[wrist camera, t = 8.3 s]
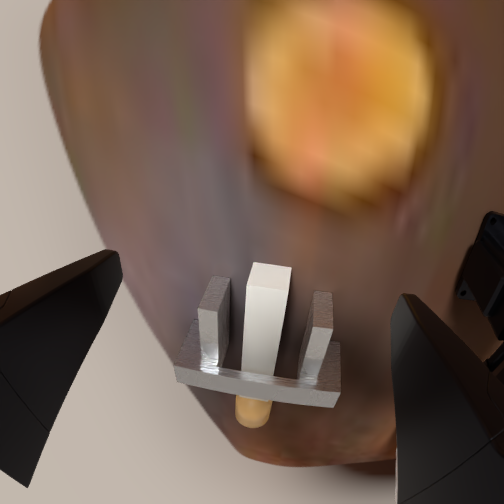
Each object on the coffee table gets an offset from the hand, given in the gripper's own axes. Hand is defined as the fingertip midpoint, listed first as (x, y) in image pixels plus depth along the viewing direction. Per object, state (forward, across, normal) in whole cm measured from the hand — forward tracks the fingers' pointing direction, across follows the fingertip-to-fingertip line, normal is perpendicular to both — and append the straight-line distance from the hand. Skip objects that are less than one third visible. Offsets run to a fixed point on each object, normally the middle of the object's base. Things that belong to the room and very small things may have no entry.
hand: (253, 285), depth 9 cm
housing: (+10, 0, +11) cm, 15 cm away
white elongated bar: (+10, 0, +14) cm, 17 cm away
